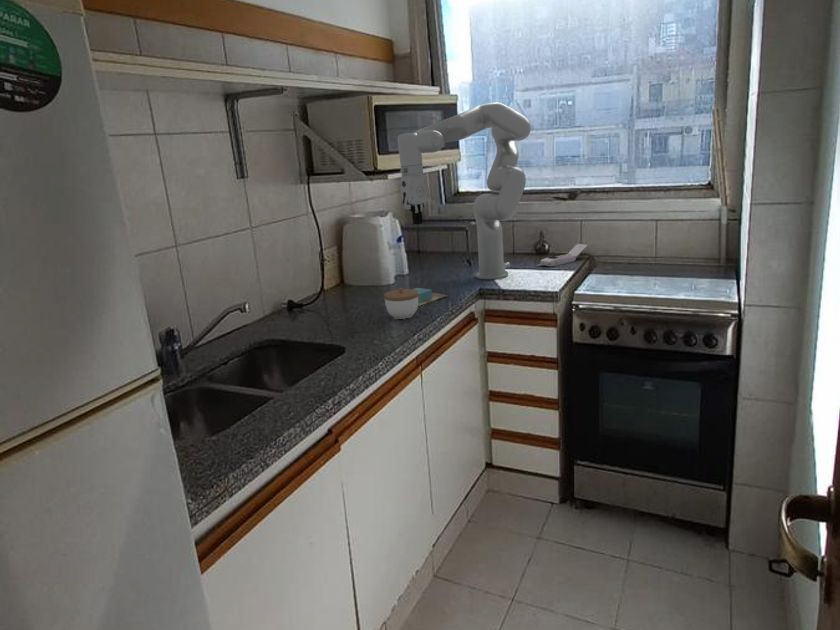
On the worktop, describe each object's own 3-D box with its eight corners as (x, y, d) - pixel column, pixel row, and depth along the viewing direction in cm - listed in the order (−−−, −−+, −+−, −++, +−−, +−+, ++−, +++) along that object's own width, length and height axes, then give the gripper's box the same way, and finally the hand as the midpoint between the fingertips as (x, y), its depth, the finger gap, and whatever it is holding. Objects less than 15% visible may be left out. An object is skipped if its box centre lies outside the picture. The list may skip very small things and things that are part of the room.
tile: (417, 287, 213) (399, 293, 207) (432, 289, 209) (413, 295, 202) (418, 295, 214) (399, 301, 208) (432, 298, 209) (414, 304, 203)
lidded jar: (426, 313, 194) (424, 285, 191) (407, 323, 185) (405, 293, 183) (398, 310, 200) (396, 283, 197) (379, 320, 191) (376, 291, 189)
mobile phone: (588, 244, 254) (546, 254, 241) (589, 258, 256) (546, 269, 242) (577, 243, 259) (535, 252, 246) (577, 257, 260) (535, 267, 247)
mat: (424, 293, 219) (424, 291, 219) (447, 297, 212) (447, 295, 212) (392, 304, 209) (392, 302, 208) (415, 308, 201) (415, 306, 201)
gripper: (405, 173, 201) (411, 228, 207) (434, 167, 211) (439, 220, 217) (389, 173, 206) (395, 227, 212) (418, 168, 216) (424, 219, 222)
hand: (418, 223), depth 214 cm, fingers closed
